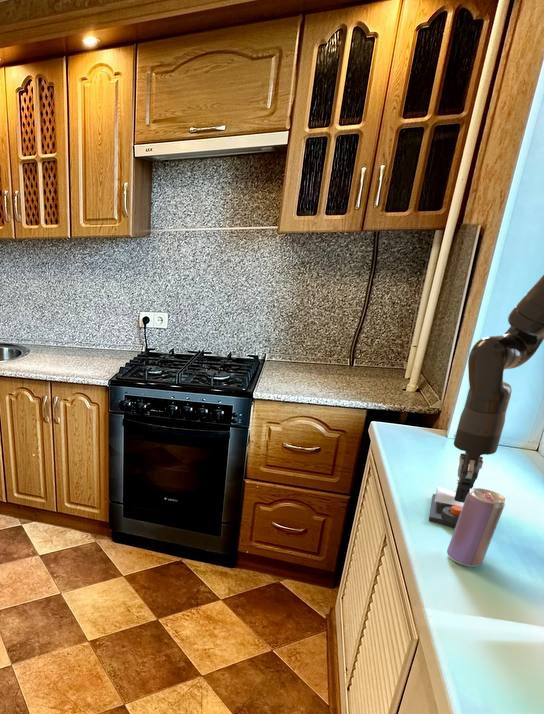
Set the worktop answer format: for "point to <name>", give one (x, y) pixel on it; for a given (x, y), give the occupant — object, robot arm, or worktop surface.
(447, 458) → the worktop surface
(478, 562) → the beverage can
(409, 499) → the worktop surface
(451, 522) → the scale
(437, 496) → the scale pan
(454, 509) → the button
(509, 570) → the worktop surface
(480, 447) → the robot arm
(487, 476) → the worktop surface
